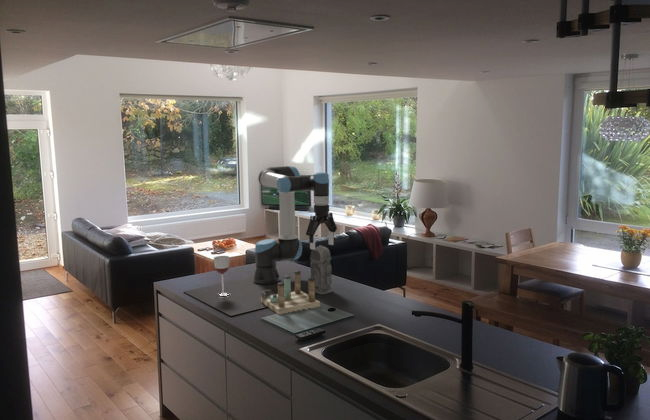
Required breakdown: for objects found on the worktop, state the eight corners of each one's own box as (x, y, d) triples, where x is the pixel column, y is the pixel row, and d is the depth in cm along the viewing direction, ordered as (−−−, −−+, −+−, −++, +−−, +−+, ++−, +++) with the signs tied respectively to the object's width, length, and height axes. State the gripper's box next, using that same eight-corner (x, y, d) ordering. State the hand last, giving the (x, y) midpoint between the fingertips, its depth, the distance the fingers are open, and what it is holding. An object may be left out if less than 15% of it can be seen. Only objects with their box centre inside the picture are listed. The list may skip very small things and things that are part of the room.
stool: (261, 301, 274) (260, 275, 272) (300, 295, 284) (300, 269, 282) (278, 314, 255) (277, 285, 253) (320, 306, 265) (319, 279, 263)
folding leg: (274, 303, 262) (273, 281, 261) (268, 301, 265) (267, 279, 264) (293, 297, 270) (292, 276, 269) (287, 295, 273) (287, 274, 272)
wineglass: (232, 292, 290) (231, 255, 287) (228, 297, 282) (226, 259, 279) (218, 292, 291) (216, 255, 288) (213, 297, 282) (211, 259, 280)
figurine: (323, 295, 282) (323, 248, 279) (306, 290, 293) (305, 244, 289) (337, 292, 289) (337, 245, 285) (320, 286, 299) (319, 241, 296)
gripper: (309, 207, 256) (310, 252, 259) (343, 202, 274) (343, 243, 277) (298, 206, 261) (298, 250, 264) (332, 201, 279) (332, 241, 282)
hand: (322, 246), depth 270 cm, fingers open, 13 cm apart
